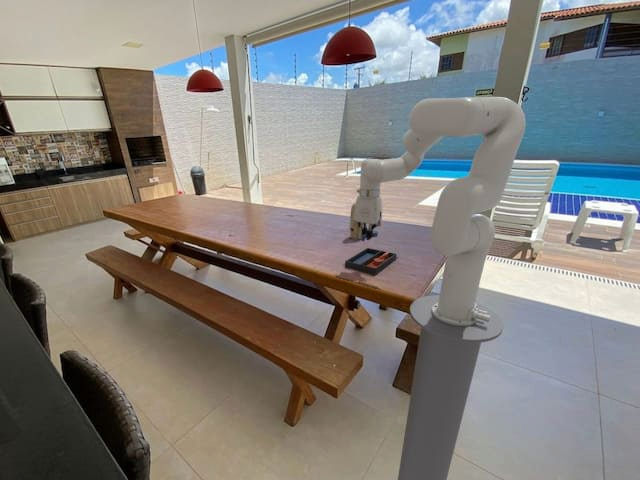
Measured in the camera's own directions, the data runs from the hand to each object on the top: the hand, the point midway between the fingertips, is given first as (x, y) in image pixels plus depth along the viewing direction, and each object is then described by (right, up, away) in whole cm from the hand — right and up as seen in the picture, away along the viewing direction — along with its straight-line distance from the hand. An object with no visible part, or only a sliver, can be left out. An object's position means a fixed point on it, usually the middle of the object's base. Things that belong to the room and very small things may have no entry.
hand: (366, 238), depth 125 cm
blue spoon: (+1, 0, +1) cm, 2 cm away
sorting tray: (+5, -10, +10) cm, 15 cm away
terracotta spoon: (+10, -9, +10) cm, 16 cm away
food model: (+7, +3, +40) cm, 41 cm away
